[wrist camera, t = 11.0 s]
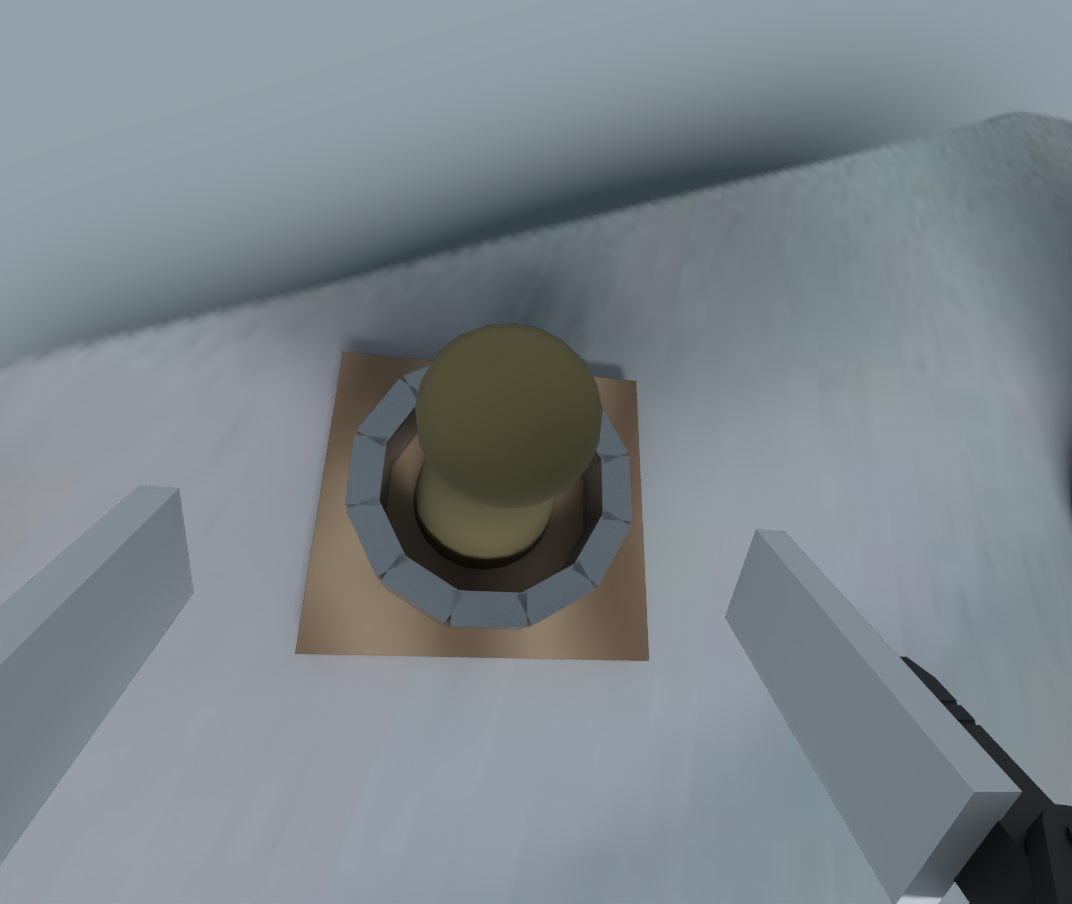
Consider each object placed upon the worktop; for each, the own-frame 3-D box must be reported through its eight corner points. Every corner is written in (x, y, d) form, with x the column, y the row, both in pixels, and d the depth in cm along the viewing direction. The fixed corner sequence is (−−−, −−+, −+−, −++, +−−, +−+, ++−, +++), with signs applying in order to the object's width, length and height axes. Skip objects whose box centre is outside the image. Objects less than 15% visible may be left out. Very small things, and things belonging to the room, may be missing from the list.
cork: (442, 417, 25) (445, 256, 15) (567, 460, 25) (654, 332, 15) (391, 543, 23) (354, 456, 13) (529, 588, 23) (602, 539, 13)
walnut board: (628, 391, 29) (635, 380, 28) (639, 660, 24) (649, 660, 23) (346, 364, 27) (343, 351, 25) (301, 653, 22) (294, 653, 21)
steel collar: (606, 397, 27) (626, 367, 24) (612, 633, 23) (636, 630, 20) (375, 375, 25) (367, 340, 23) (341, 625, 22) (327, 621, 19)
